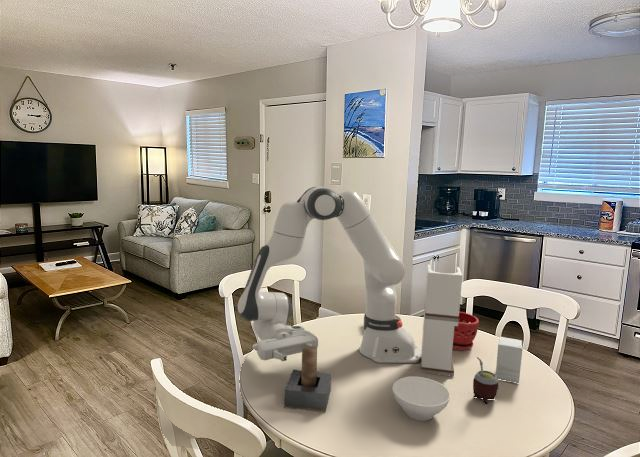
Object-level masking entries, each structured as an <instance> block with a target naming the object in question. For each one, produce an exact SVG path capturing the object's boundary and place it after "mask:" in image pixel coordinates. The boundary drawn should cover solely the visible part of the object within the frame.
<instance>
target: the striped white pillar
mask: <svg viewBox="0 0 640 457" xmlns="http://www.w3.org/2000/svg"><path fill="white" fill-rule="evenodd" d="M431 267H432V266H431V264H427V269H426V270H427V271H426V282H425V283H426V286H425V296H424V298H425V299H424V311H423V323H422V324H423V325H422V327H423V328H422V339H421V340H422V341H421V351H420V353H421V358H420V372H422V374H429V373H431V374H430V375H437V374H440V375H439V376H444V375H450V376H449V377H452V376H455V369H454V368H455V367H454V362H453V336H454V326H458V322H459V321H460V319H459V312H460V310H461V307H460V306H461V296H462V284H463V283H462V282H463V273H462V271H461V268H460V267H459V266H456V269H455V272H453V273H448V272H446V273H444V272H437V271H434V270H433V269H432V268H431Z"/></svg>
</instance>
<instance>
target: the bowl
mask: <svg viewBox="0 0 640 457" xmlns="http://www.w3.org/2000/svg"><path fill="white" fill-rule="evenodd" d="M391 388H392V394H393V396H394V400H395V401H396V402H397V404H398V405H399V406H400V407H401V409H403V411H405V413H406V415H407V416H408V417H409V418H411V419H413V420H416V421H421V422H426V421H429V420H431V419H432V418H434V417H435V416H437V415H438V414H440V413H441V412H442V411H443V410H445V408H447V406H448V404H449V403H450V400H451V393H450V391H449V389H448V388H447V387H446V386H445V385H444V384H442V383H440V381H436V380H434V379H432V378H427V377H423V376H404V377H400V378H399V379H397V380H395V381H394V382H393V384H392V387H391Z"/></svg>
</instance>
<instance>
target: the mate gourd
mask: <svg viewBox="0 0 640 457" xmlns="http://www.w3.org/2000/svg"><path fill="white" fill-rule="evenodd" d="M476 359H477V360H478V361H479V365H480V370H479V371H478V372H476V373H475V375H474V378H473V380H472V382H473V383H472V390H473V398H474V397H477V398H483V400H484V401H483V400H482V401H483V404H484V403H485V404H487V405H488V402H487V401H488V400H487V399H494V398H495V399H496V396H497V393H498V390H499V380H498V379H497V377H496V373H495V374H494V373H493V372H491V371H489V370H484V368H483V367H484V366H483V365H484V364H483V360H482V359H481V358H479V356H477V357H476ZM485 404H484V405H485Z"/></svg>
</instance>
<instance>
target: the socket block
mask: <svg viewBox="0 0 640 457" xmlns="http://www.w3.org/2000/svg"><path fill="white" fill-rule="evenodd" d="M301 376H302V369H301V370H300V369H292V372H291V373H290V376H289V378H288V380H287V383H286V385H285V388H284V392H283V393H284V395H283V396H284V398H283V401H284V402H283V408H284V409H291V410H292V409H294V410H302V411H311V412H319V413H327V409H328V403H329V400H330V395H331V392H332V373H330V372H321V371H317V373H316V387H309V386H301Z"/></svg>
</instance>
